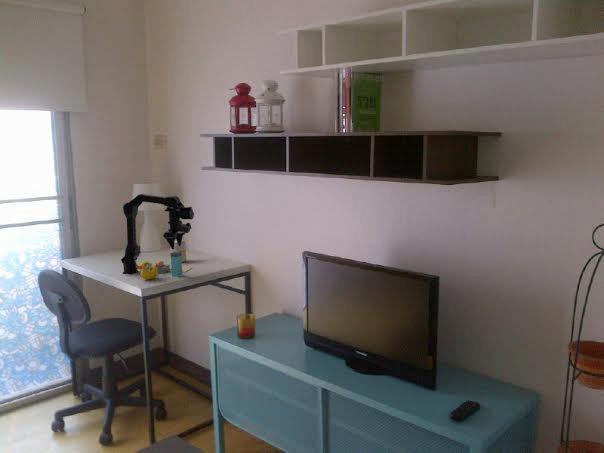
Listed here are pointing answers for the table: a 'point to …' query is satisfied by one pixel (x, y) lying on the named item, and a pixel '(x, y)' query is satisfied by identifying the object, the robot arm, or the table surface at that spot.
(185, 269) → the sketchbook
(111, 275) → the table surface
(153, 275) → the duckling
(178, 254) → the teal cylinder
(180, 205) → the robot arm
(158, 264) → the button
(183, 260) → the supplement box
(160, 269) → the button housing
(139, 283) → the table surface
